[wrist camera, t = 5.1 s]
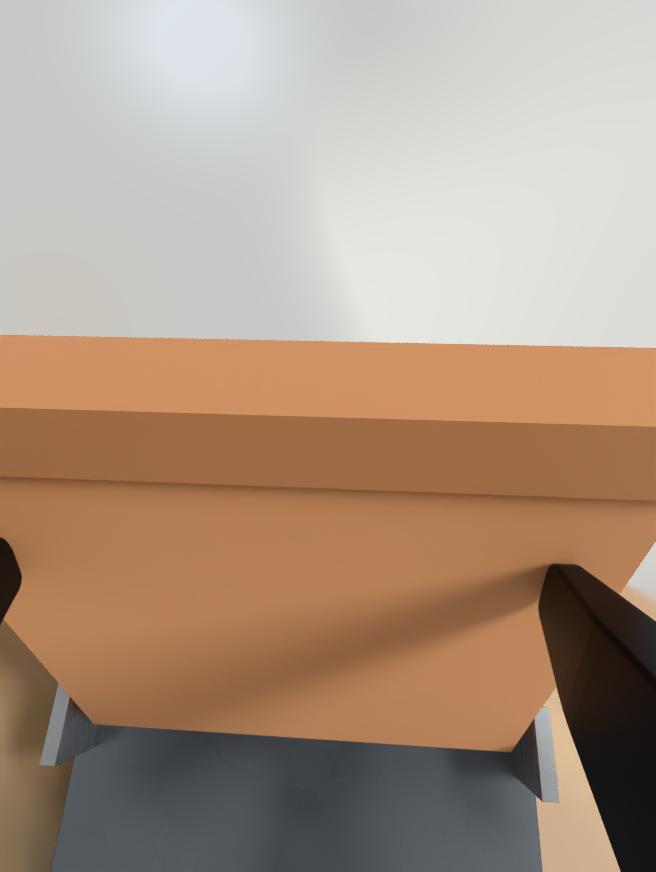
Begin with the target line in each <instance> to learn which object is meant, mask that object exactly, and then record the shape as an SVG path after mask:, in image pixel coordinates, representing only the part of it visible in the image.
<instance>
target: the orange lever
mask: <svg viewBox="0 0 656 872" xmlns="http://www.w3.org/2000/svg"><path fill="white" fill-rule="evenodd" d="M0 537H1V538H4V539H5V540H6V541H7V542H8V543H9V545H10V546H11V548H12V549H13V551H14V554H15V557H16V559H17V562H18V565H19V568H20V570H21V574H22V583H21V586H20V589H19V591H18V593H17V595H16V597H15V599H14V600H13V602H12V604H11V606H10V608H9V610H8V612H7V613H6V615H5V617H4V620H5V622H6V623H7V624H8V625H9V626H10V627H11V629H12V630H13V631H14V632H15V633H16V634H17V636H18V637H19V638H20V639H21V640H22V641H23V642H24V644H25V645H26V646H27V647H28V648H29V649H30V651H31V652H32V653H33V654H34V655H35V656H36V658H37V659H38V660H39V661H40V662H41V663H42V665H43V666H44V667H45V668H46V669H47V670H48V671H49V673H50V674H51V675H52V676H53V677H54V678H55V680H56V681H57V682H58V683H59V684H60V685H61V687H62V688H63V689H64V690H65V691H66V692H67V694H68V695H69V696H70V697H71V698H72V699H73V700H74V702H75V703H76V704H77V705H78V706H79V707H80V709H81V710H82V711H83V712H84V713H85V714H86V716H87V717H88V718H89V719H90V720H91V721H92V723H93V724H98V725H113V726H128V727H143V728H158V729H173V730H188V731H203V732H218V733H232V734H247V735H262V736H277V737H292V738H307V739H322V740H337V741H352V742H366V743H381V744H396V745H411V746H426V747H441V748H456V749H471V750H485V751H500V752H512V750H513V749H514V747H515V746H516V744H517V743H518V741H519V740H520V738H521V737H522V736H523V734H524V733H525V731H526V730H527V728H528V727H529V725H530V724H531V722H532V721H533V719H534V718H535V717H536V715H537V714H538V712H539V711H540V709H541V708H542V706H543V705H544V703H545V702H546V701H547V699H548V698H549V696H550V695H551V693H552V692H553V690H554V689H555V687H556V682H555V678H554V674H553V670H552V666H551V662H550V658H549V654H548V650H547V646H546V642H545V638H544V634H543V630H542V626H541V622H540V618H539V611H538V603H539V598H540V594H541V591H542V587H543V583H544V579H545V576H546V572H547V570H548V568H549V567H550V566H551V565H552V564H554V563H562V564H576V565H579V566H581V567H582V568H584V569H585V570H587V571H588V572H589V573H591V574H592V575H593V576H595V577H596V578H597V579H599V580H600V581H601V582H603V583H604V584H606V585H607V586H608V587H610V588H611V589H612V590H614V591H615V592H616V593H618V594H620V593H621V591H622V590H623V588H624V587H625V585H626V584H627V582H628V581H629V579H630V578H631V577H632V575H633V574H634V572H635V571H636V569H637V568H638V566H639V565H640V563H641V562H642V561H643V559H644V557H645V556H646V555H647V553H648V552H649V550H650V549H651V547H652V546H653V544H654V543H655V542H656V348H623V347H622V348H621V347H617V348H616V347H573V346H571V347H569V346H521V345H473V344H425V343H420V344H419V343H372V342H371V343H370V342H325V341H274V340H227V339H225V340H224V339H222V340H221V339H177V338H128V337H127V338H126V337H78V336H29V335H28V336H26V335H0Z"/></svg>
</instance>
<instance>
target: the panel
mask: <svg viewBox="0 0 656 872" xmlns="http://www.w3.org/2000/svg"><path fill="white" fill-rule="evenodd" d="M73 757H75V758H74V763H73V768H72V773H71V777H70V782H69V787H68V792H67V797H66V801H65V806H64V811H63V816H62V820H61V825H60V830H59V835H58V840H57V844H56V849H55V854H54V859H53V863H52V868H51V872H542V861H541V850H540V839H539V828H538V817H537V806H536V796H537V797H538V798H539V799H540V800H541V801H542V802H554V803H560V802H559V793H558V784H557V774H556V765H555V756H554V746H553V737H552V728H551V718H550V709H549V708H547V707H545V706H542V708H541V709H540V711H539V712H538V714H537V715H536V717H535V718H534V719H533V721H532V722H531V724H530V725H529V727H528V728H527V730H526V731H525V733H524V734H523V736H522V737H521V738H520V740H519V741H518V743H517V744H516V746H515V747H514V749H513V750H512V752H500V751H485V750H471V749H456V748H441V747H426V746H411V745H396V744H381V743H366V742H352V741H337V740H322V739H307V738H292V737H277V736H262V735H247V734H232V733H218V732H203V731H188V730H173V729H158V728H143V727H128V726H113V725H98V724H93V723H92V721H91V720H90V719H89V718H88V717H87V716H86V714H85V713H84V712H83V711H82V710H81V709H80V707H79V706H78V705H77V704H76V703H75V702H74V700H73V699H72V698H71V697H70V696H69V695H68V694H67V692H66V691H65V690H64V689H63V688H62V687H61V685H60V684H59V683H58V687H57V692H56V696H55V700H54V704H53V709H52V713H51V717H50V722H49V726H48V730H47V735H46V739H45V743H44V748H43V752H42V756H41V761H40V765H45V766H56V765H58V764H60V763H62V762H65V761H67V760H69V759H71V758H73ZM535 795H536V796H535Z"/></svg>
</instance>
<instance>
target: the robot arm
mask: <svg viewBox="0 0 656 872" xmlns="http://www.w3.org/2000/svg"><path fill="white" fill-rule="evenodd" d="M21 583H22V574H21V570H20V568H19V565H18V562H17V559H16V557H15V554H14V551H13V549H12V548H11V546H10V545H9V543H8V542H7V541H6V540H5V539H4V538H1V537H0V625H1V623H2V621H3V619H4V617H5V615H6V613H7V612H8V610H9V608H10V606H11V604H12V602H13V600H14V599H15V597H16V595H17V593H18V591H19V589H20V586H21ZM538 611H539V618H540V622H541V626H542V630H543V634H544V638H545V642H546V646H547V650H548V654H549V658H550V662H551V666H552V670H553V674H554V678H555V682H556V686H557V690H558V694H559V698H560V702H561V705H562V709H563V712H564V715H565V718H566V721H567V724H568V727H569V730H570V733H571V736H572V738H573V741H574V744H575V747H576V749H577V752H578V755H579V758H580V760H581V763H582V766H583V769H584V771H585V774H586V777H587V780H588V782H589V785H590V788H591V791H592V793H593V796H594V799H595V802H596V804H597V807H598V810H599V813H600V815H601V818H602V821H603V824H604V826H605V829H606V832H607V835H608V838H609V840H610V843H611V846H612V849H613V851H614V854H615V857H616V860H617V862H618V865H619V868H620V871H621V872H656V621H655V620H653V619H652V618H651V617H649V616H648V615H646V614H645V613H644V612H642V611H641V610H640V609H638V608H637V607H636V606H634V605H633V604H631V603H630V602H629V601H627V600H626V599H625V598H623V597H622V596H621V595H619V594H618V593H616V592H615V591H614V590H612V589H611V588H610V587H608V586H607V585H606V584H604V583H603V582H601V581H600V580H599V579H597V578H596V577H595V576H593V575H592V574H591V573H589V572H588V571H587V570H585V569H584V568H582V567H581V566H579V565H576V564H562V563H554V564H552V565H551V566H550V567H549V568H548V570H547V572H546V576H545V579H544V583H543V587H542V591H541V594H540V598H539V603H538Z"/></svg>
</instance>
